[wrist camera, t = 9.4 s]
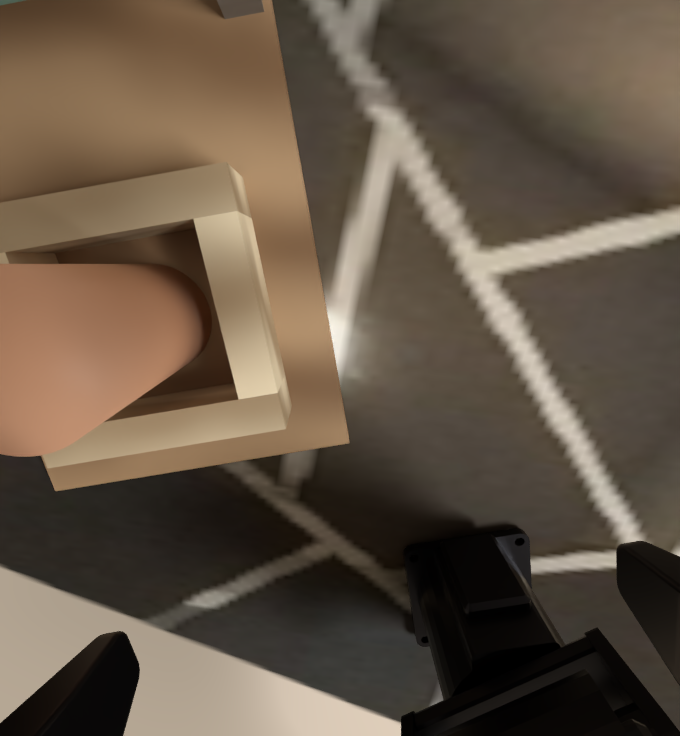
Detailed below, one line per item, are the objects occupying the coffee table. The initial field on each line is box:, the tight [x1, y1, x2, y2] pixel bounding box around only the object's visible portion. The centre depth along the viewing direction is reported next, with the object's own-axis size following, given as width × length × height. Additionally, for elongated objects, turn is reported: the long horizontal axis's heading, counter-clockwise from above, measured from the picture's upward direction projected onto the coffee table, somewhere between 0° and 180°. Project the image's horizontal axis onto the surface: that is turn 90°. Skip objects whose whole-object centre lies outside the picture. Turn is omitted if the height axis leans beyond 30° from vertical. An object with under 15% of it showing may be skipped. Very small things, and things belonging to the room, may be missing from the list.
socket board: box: [0, 0, 349, 491], centre depth 13 cm, size 20×14×7 cm
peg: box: [0, 264, 212, 457], centre depth 13 cm, size 4×4×8 cm
